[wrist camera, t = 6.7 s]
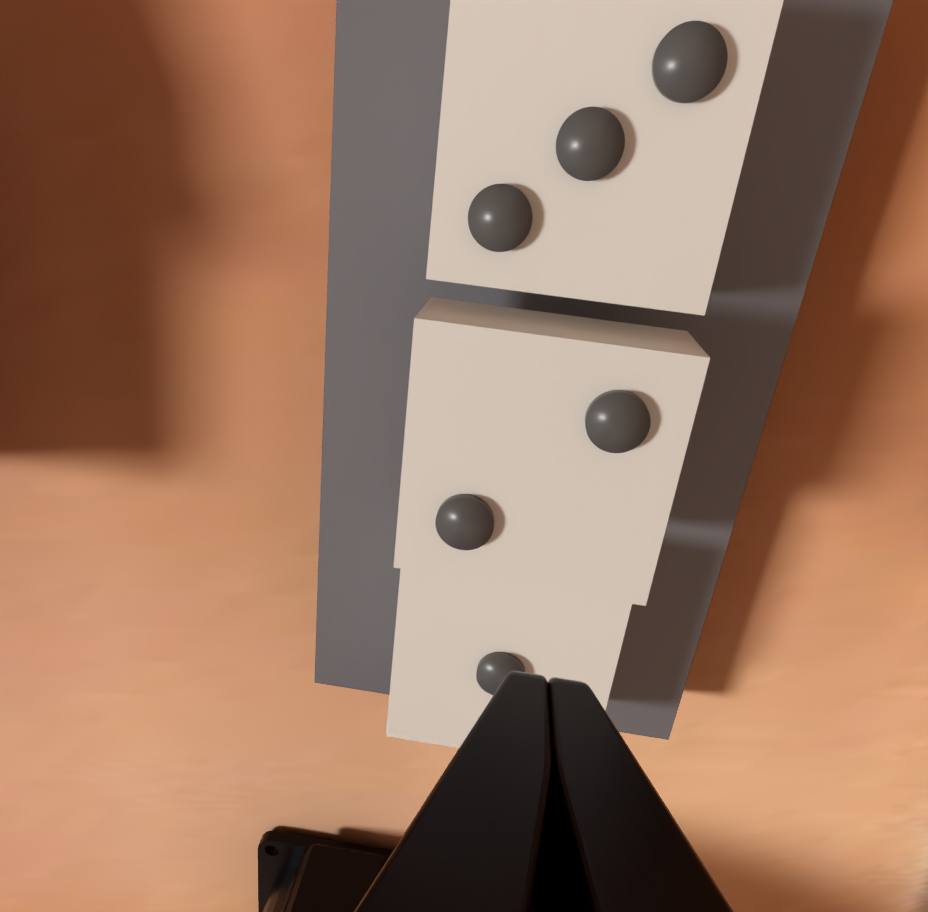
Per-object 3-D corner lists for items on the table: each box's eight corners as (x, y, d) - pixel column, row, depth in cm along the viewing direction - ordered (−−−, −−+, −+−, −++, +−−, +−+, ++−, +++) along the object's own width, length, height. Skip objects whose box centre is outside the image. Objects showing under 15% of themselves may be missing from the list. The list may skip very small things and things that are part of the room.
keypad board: (657, 689, 21) (668, 739, 19) (333, 638, 22) (314, 682, 20) (856, -11, 14) (904, -37, 12) (365, -64, 14) (339, -97, 13)
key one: (586, 709, 19) (591, 776, 17) (400, 679, 19) (384, 742, 17) (623, 548, 17) (635, 602, 15) (416, 517, 17) (399, 566, 15)
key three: (683, 295, 14) (706, 317, 12) (440, 264, 14) (424, 281, 12) (751, 8, 12) (792, -22, 10) (467, -23, 12) (453, -59, 10)
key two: (633, 553, 15) (647, 611, 13) (410, 520, 16) (391, 572, 14) (687, 330, 13) (713, 360, 11) (430, 296, 14) (412, 320, 12)
